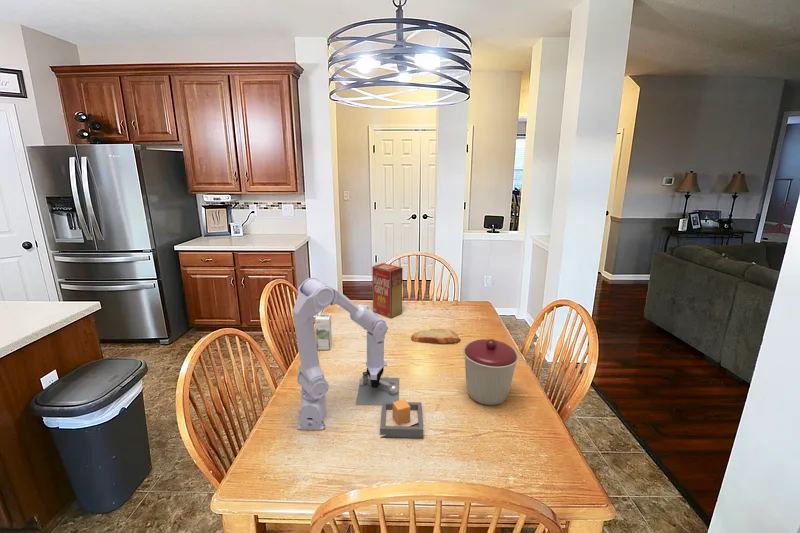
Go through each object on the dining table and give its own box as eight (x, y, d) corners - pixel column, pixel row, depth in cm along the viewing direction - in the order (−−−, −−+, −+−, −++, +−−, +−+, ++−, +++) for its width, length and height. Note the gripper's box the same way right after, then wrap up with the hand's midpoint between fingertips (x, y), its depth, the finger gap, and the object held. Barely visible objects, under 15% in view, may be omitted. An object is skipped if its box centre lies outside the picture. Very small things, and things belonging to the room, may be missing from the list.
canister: (493, 376, 141) (498, 324, 135) (525, 405, 125) (532, 348, 119) (450, 386, 135) (453, 332, 129) (478, 418, 119) (483, 358, 113)
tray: (423, 438, 110) (423, 429, 109) (380, 438, 110) (380, 428, 109) (421, 411, 122) (421, 402, 121) (382, 410, 122) (382, 401, 121)
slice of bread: (407, 339, 170) (407, 331, 169) (434, 327, 182) (434, 320, 181) (437, 354, 158) (438, 346, 156) (464, 340, 170) (464, 332, 168)
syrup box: (332, 344, 164) (331, 312, 160) (330, 350, 158) (329, 318, 154) (319, 344, 164) (317, 312, 160) (316, 350, 158) (314, 318, 154)
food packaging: (371, 312, 198) (371, 265, 191) (384, 306, 205) (384, 262, 198) (391, 319, 190) (391, 271, 183) (403, 313, 197) (403, 267, 190)
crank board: (398, 409, 123) (398, 402, 122) (355, 408, 123) (355, 401, 122) (399, 380, 138) (399, 374, 137) (360, 380, 138) (360, 374, 137)
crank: (401, 390, 130) (401, 380, 129) (393, 397, 126) (393, 388, 125) (367, 378, 137) (367, 369, 136) (359, 384, 133) (359, 375, 132)
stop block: (404, 415, 119) (404, 399, 117) (409, 423, 115) (410, 406, 113) (392, 419, 117) (392, 402, 115) (397, 427, 113) (398, 410, 112)
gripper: (386, 362, 119) (385, 399, 123) (388, 341, 133) (387, 375, 137) (363, 361, 119) (364, 399, 123) (368, 340, 133) (368, 374, 137)
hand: (375, 386), depth 130 cm, fingers closed, pressing on crank
